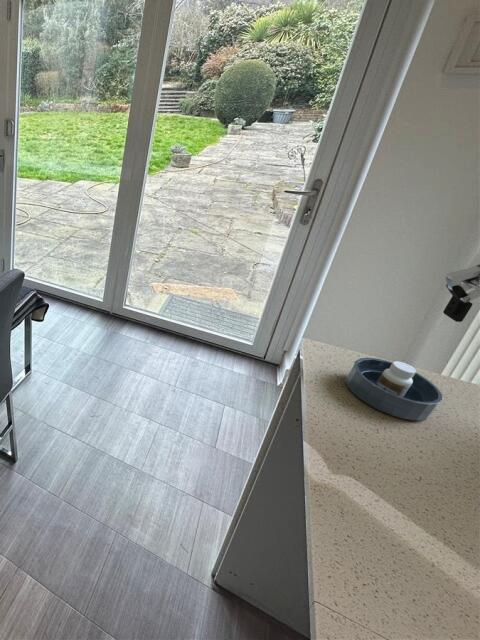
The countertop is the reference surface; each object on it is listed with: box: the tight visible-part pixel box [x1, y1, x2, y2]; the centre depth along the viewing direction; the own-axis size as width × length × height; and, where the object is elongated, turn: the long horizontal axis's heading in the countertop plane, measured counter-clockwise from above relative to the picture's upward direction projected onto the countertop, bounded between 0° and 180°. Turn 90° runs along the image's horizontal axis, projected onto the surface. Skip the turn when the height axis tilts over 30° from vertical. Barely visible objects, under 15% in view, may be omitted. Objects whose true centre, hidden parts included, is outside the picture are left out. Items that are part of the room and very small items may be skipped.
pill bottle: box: [375, 360, 417, 397], centre depth 84 cm, size 4×4×8 cm
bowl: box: [345, 357, 443, 421], centre depth 85 cm, size 13×13×5 cm
